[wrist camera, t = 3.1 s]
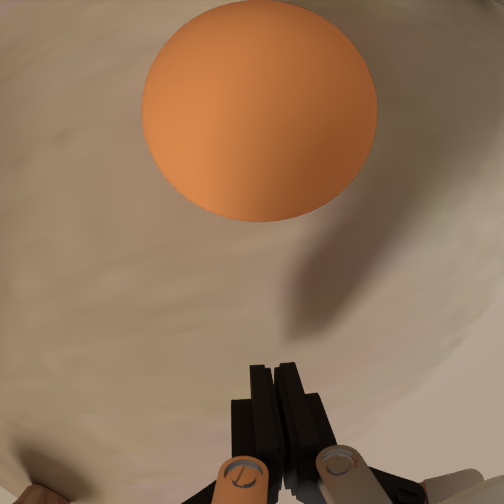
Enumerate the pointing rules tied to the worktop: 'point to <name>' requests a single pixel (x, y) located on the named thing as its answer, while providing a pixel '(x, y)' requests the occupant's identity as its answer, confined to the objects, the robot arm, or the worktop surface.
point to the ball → (259, 111)
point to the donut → (499, 1)
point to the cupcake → (40, 496)
